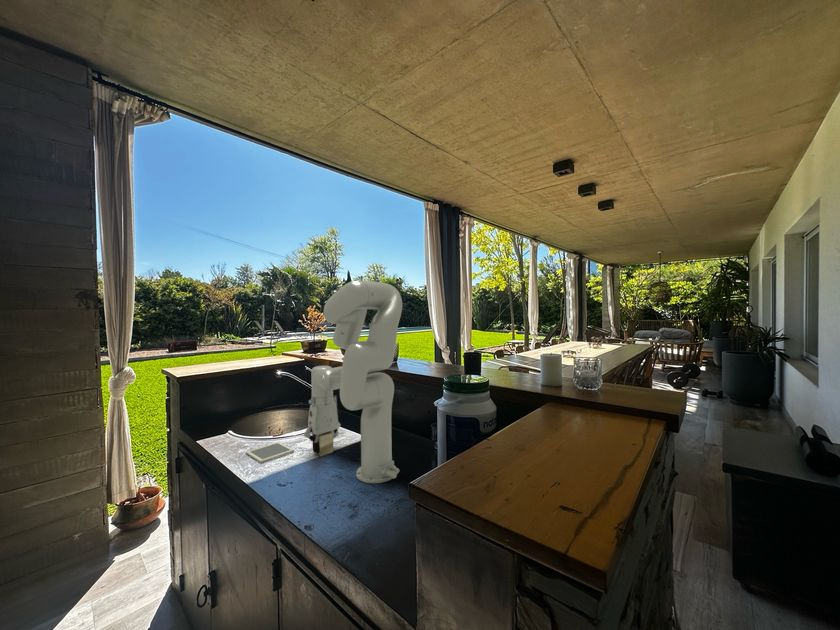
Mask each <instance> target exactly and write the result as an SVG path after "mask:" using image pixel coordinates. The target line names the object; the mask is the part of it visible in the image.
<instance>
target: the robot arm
mask: <svg viewBox="0 0 840 630" xmlns="http://www.w3.org/2000/svg"><path fill="white" fill-rule="evenodd" d="M368 310H377V312H376V313H375V315H374V317H373V318H372V319H371V322H370V325H369V330H368V337H367V339H366V340H360V337H361V334H362V330H363V327H364V323H365V320H366V316H367V314H368V313H367V311H368ZM402 311H403V300H402V295H401V294H400V292H399V290H398V289H397V287H395V286H393V285H392V284H390V283H385V282H380V281H368V280H351V281H349V282H347V283H345V285H343V286H342V287H341V288H340V289H338V290H337V291H335V293H333V294H332V295H331V296H330V297H329V298H328V299H327V301H326V303H325V304H324V307H323V318H324V320H325V321H326V323H328V324H332V325H333V324H334V325H335V329H334V333H333V336H332V342H333V343H334V345H335V346H337V347H338V348H340V349H343V350H345V352H344V355H343V359H342V366H341V365H340V366H337V367H332V366H330V365H318V366H317V365H315V366H314V367H312V369H311V371H310V372H311V373H310V374H311V375H310V376H311V378H310V379H311V381H310V382H311V398H310V399H309V400H308V404H309V410H308V420H307V423H308V424H307V428H306V430H305V431H304V433H303V436H304V437H305V438H307V439H309V441H311V442H312V453H313V452H315V453H317V454H318V453H319V442H318V439H319V435H320V434H323V433H327V432H332V433H333V437H334V436H335V433H336V432H337V429H338V430H339V429H340V427H341V423H340V421H339V414H338V407H337V408H336V404H335V402H333V395H334V391H335V390H339V399H340V402H341V404H342V406H343V407H344V408H345V409H346V410H349V411H358V410H361V411H362V412H361V416H360V462H361V463H360V464H361V466H359V468H357V469H356V472H355V473H356V478H357V479H358V480H359V481H360V482H363V483H366V484H382V483H385V482H388V481H391V480H393V479H396V478H397V476H398V474H399V472H400V469H399V468H398V467H396V465H395V460H393V455H392V452H393V451H392V448H393V447H392V441H393V440H392V412H393V411H392V408H393V402H394V394H395V383H394V381H393V379H392V377H391V376H390V375H389V374H387V373H385V372H381V371H383V370H388V369H389V368H390V367H391V366H392V365H393V363H394V358H395V357H394V356H395V351H396V345H397V344H396V343H397V337H398V327H399V325H400V324H399V323H400V320H401V315H402ZM311 404H312V405H311ZM335 437H336V436H335ZM335 437H334V438H335ZM315 453H314V454H315ZM317 454H316V455H317Z"/></svg>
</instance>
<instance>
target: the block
mask: <svg viewBox="0 0 840 630" xmlns="http://www.w3.org/2000/svg"><path fill="white" fill-rule="evenodd" d="M318 442H319V453H318V454H317V453H315V452H313V451H312V453H313V454H316V455H317V456H320V457H324V456H325V455H328V454H331V453H333V452H334V438H333V433H332V432H327V433H323V434H320V435H319V439H318Z"/></svg>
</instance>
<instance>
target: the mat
mask: <svg viewBox="0 0 840 630" xmlns="http://www.w3.org/2000/svg"><path fill="white" fill-rule="evenodd" d="M294 453H295V449H294V448H291V447H289V446H288V445H285V444H283V443H282V442H280V441H277V442H273V443H271V444H267V445H264V446H263V445H262V446H261V447H257V448H253V449H250V450H247V451H246V452H245V455H246V456H248V457H249V456H250V458H251V459H253V460H255V461H256V462H257V461H258V463H259V464H261V463H262V464H264V462H265V463H267V461H268V462H270V460H271V461H273V459H274V460H277V459H279V458H282V457H285V456H288V455H291V454H294ZM276 458H277V459H276Z"/></svg>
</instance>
